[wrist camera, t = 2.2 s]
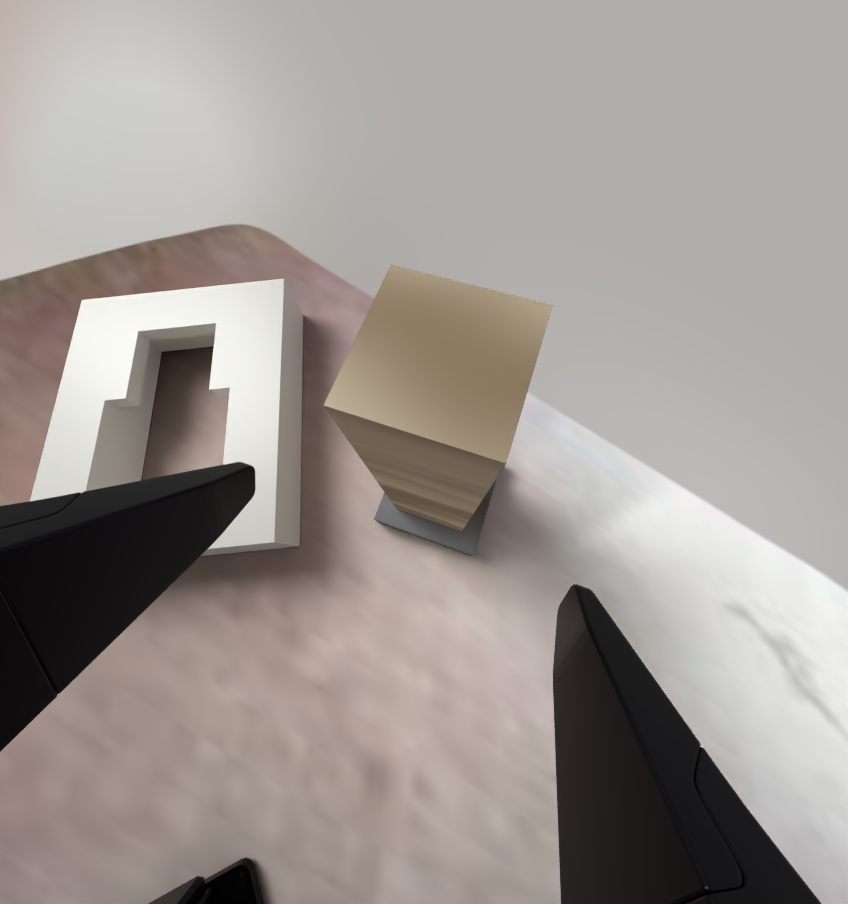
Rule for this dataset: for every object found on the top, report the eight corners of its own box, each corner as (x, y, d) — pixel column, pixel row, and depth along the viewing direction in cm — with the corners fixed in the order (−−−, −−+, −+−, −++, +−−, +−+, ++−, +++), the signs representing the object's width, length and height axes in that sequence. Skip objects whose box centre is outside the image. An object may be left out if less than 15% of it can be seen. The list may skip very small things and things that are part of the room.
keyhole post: (471, 555, 21) (544, 529, 7) (377, 521, 22) (260, 432, 7) (499, 463, 22) (605, 282, 8) (411, 435, 23) (368, 226, 9)
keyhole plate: (299, 546, 21) (274, 542, 18) (78, 568, 21) (12, 568, 18) (303, 314, 27) (283, 278, 23) (126, 333, 27) (82, 300, 23)
